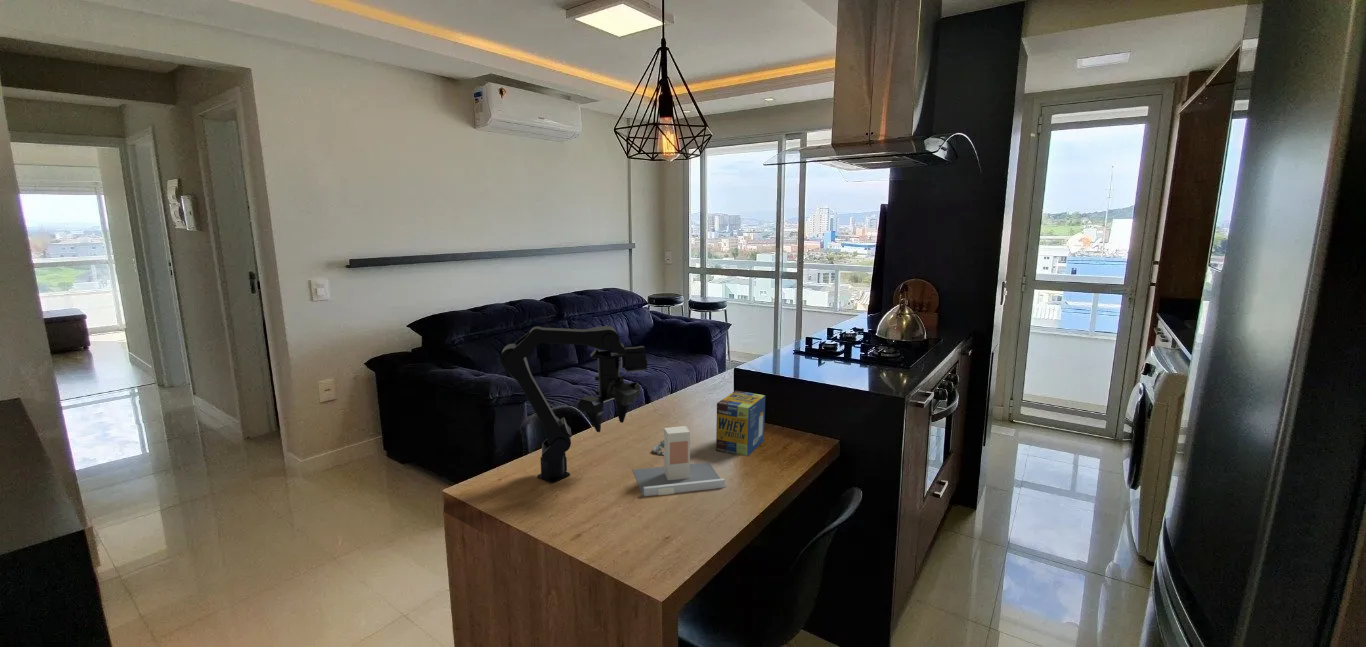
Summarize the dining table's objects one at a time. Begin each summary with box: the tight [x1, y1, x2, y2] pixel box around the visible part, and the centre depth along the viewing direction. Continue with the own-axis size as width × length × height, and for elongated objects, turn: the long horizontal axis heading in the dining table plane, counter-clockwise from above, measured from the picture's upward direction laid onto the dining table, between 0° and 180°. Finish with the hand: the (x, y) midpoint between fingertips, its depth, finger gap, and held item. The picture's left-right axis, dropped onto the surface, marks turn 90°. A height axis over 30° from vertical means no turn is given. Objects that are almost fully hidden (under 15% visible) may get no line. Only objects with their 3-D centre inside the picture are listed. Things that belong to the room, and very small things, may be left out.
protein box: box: [715, 390, 766, 457], centre depth 177 cm, size 10×15×16 cm
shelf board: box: [632, 461, 727, 497], centre depth 151 cm, size 22×16×4 cm
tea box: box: [663, 425, 691, 480], centre depth 152 cm, size 6×5×13 cm
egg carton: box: [653, 440, 664, 456], centre depth 171 cm, size 11×8×4 cm
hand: (610, 427), depth 157 cm, fingers open, 9 cm apart
